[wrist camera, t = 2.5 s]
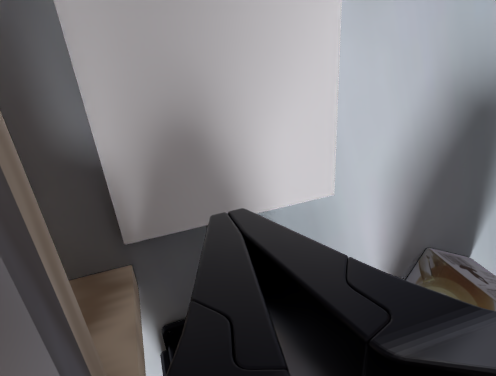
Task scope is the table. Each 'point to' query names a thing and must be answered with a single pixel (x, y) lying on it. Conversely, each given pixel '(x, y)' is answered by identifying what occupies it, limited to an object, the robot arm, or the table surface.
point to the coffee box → (455, 278)
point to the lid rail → (113, 319)
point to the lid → (35, 287)
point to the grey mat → (207, 104)
